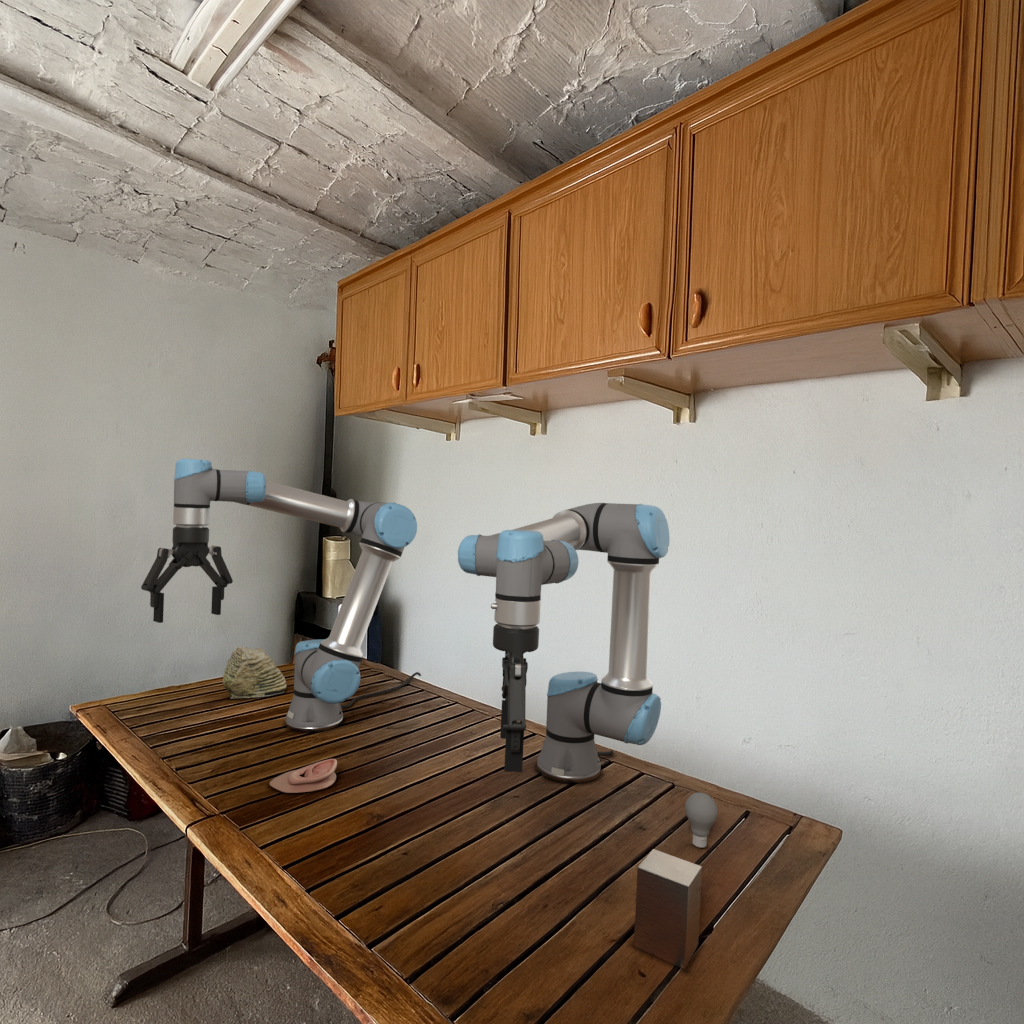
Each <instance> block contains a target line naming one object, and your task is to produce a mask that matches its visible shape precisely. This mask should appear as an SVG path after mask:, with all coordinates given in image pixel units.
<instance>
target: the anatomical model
mask: <svg viewBox="0 0 1024 1024" xmlns="http://www.w3.org/2000/svg"><path fill="white" fill-rule="evenodd" d="M337 766H338V760H337V759H336V758H329V759H324V760H321V761H318V762H315V763H314V762H313V763H312V764H309V765H306V766H303V767H301V768H298V769H294V770H289V771H287V772H284V773H282V774H279V775H277V776H276V777H274V778H273V779H271V780H270V781H269V786H270V787H272V788H273V789H275V790H277V791H279V792H282V793H286V794H294V793H295V794H296V793H297V794H299V793H306V792H307V793H308V792H315V791H319V790H320V791H321V790H323V789H326V788H328V787H330V786H332V785H333V784H334V783H335V782H336V780H337V773H335V771H336V769H337V768H338V767H337Z"/></svg>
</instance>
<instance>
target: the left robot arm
mask: <svg viewBox="0 0 1024 1024" xmlns="http://www.w3.org/2000/svg"><path fill="white" fill-rule="evenodd" d="M211 502H228V503H237V504H240V505H244V506H245V505H246V506H250V507H254V508H258V509H262V510H267V511H269V512H275V513H279V514H283V515H285V516H286V515H287V516H291V517H295V518H300V519H303V520H307V521H312V522H316V523H319V524H324V525H328V526H333V527H335V528H336V527H337V528H339V529H340V531H341V532H343V533H346V534H349V535H353V536H355V537H358V538H360V540H359V543H358V544H359V546H360V549H361V553H360V556H359V559H358V562H357V564H356V567H355V569H354V572H353V574H352V577H351V579H350V582H349V585H348V587H347V590H346V593H345V594H344V597H343V600H342V603H341V605H340V607H339V610H338V613H337V615H336V618H335V621H334V623H333V625H332V628H331V631H330V632H329V633H330V634H329V636H328V637H327V638H324V639H307V640H302V641H299V642H297V644H295V650H294V655H293V656H294V672H293V673H294V674H293V695H292V696H293V697H292V699H291V702H290V704H289V708H288V711H287V713H286V715H285V726H286V728H287V729H289V730H291V731H294V732H295V731H296V732H301V733H316V732H325V731H329V730H332V729H335V728H337V727H339V726H340V725H342V723H343V722H344V714H343V709H347V708H349V707H351V706H352V705H353V703H354V702H356V701H358V700H360V699H365V698H370V697H374V696H378V695H383V694H386V693H390V692H393V691H395V690H398V689H401V688H403V687H404V686H406V685H407V684H408V683H409V682H410V680H412V679H413V678H414V677H416V676H417V675H418V676H419V677H421V676H422V674H421V673H420V672H419V671H416V672H414V673H413V674H411V675H410V676H409V677H408V678H407V679H406V680H405V681H404V682H403V683H400V684H399V685H396V686H394V687H391V688H388V689H384V690H380V691H376V692H371V693H366V694H362V695H359V696H356V697H354V698H352V697H353V696H354V695H356V693H357V691H358V690H359V687H360V684H361V672H360V670H359V668H360V667H361V663H362V661H363V658H364V653H363V651H362V649H361V647H362V644H363V642H364V640H365V636H366V633H367V631H368V628H369V626H370V623H371V621H372V618H373V616H374V612H375V610H376V607H377V605H378V602H379V599H380V596H381V595H382V592H383V589H384V587H385V583H386V581H387V578H388V577H389V574H390V570H391V569H392V566H393V563H394V562H396V561H398V560H400V559H401V558H402V556H403V553H404V550H405V548H406V547H408V546H409V545H410V544H411V543H412V542H413V541H414V540H415V538H416V536H417V532H418V521H417V518H416V516H415V513H414V512H413V511H412V510H411V509H410V508H408V507H407V506H405V505H403V504H400V503H397V502H381V501H363V500H357V499H353V498H350V499H348V500H343V499H339V498H336V497H332V496H328V495H324V494H319V493H316V492H312V491H309V490H304V489H301V488H297V487H294V486H289V485H285V484H282V483H279V482H278V483H277V482H273V481H270V480H267V479H266V476H265V474H264V473H263V472H260V471H253V470H233V469H216V468H213V466H212V462H211V460H208V459H207V460H206V459H196V458H195V459H194V458H180V459H178V460H177V461H176V462H175V468H174V477H173V513H172V514H173V515H172V516H173V517H172V520H173V521H172V523H173V525H175V526H173V528H172V539H171V540H172V541H171V542H172V548H166V547H159V548H158V549H157V553H156V557H155V560H154V562H153V564H152V566H151V567H150V569H149V571H148V573H147V575H146V576H145V579H144V580H143V583H142V584H141V586H140V589H141V590H142V591H145V592H148V593H149V594H150V595H149V596H150V598H149V600H150V601H149V606H150V607H151V608H152V609H153V618H152V619H153V620H152V621H153V622H155V623H159V624H161V623H164V608H165V607H164V605H165V592H162V590H163V589H164V588H165V587H166V586H167V584H168V583H169V582H170V581H171V580H172V578H173V577H174V576H175V575H176V574H177V572H178V571H180V570H181V569H182V568H190V567H200V568H201V569H202V571H204V573H205V574H206V575H207V576H208V578H209V579H210V581H212V582H213V584H214V585H213V586H211V610H210V611H211V612H210V614H212V615H215V616H220V615H221V614H222V601H224V600H225V588H227V587H228V586H229V584H232V583H233V582H234V579H233V578H232V575H231V573H230V571H229V569H228V567H227V564H226V562H225V559H224V558H223V556H222V548H221V546H218V545H211V546H209V542H210V528H209V527H208V526H209V525H210V522H211V521H210V520H211V519H210V518H211V517H210V516H211ZM208 556H211V559H212V561H213V563H214V565H215V568H216V569H215V568H214V567H213V566H212V565H211V562H210V561H209V560H208V558H207V557H208ZM171 557H172V560H171V561H170V562H169V563H168V566H167V567H166V568H165V565H166V564H167V562H168V559H169V558H171ZM164 568H165V569H164ZM163 569H164V571H163ZM216 570H217V571H216ZM162 571H163V572H162ZM351 698H352V699H351ZM349 699H351V700H350V701H349V703H347V704H341V703H344V702H346V701H348V700H349Z"/></svg>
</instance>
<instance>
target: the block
mask: <svg viewBox="0 0 1024 1024" xmlns="http://www.w3.org/2000/svg"><path fill="white" fill-rule="evenodd" d="M636 871H637V872H636V874H637V875H636V890H635V891H636V893H635V912H634V913H635V914H634V915H635V916H634V932H633V933H634V934H633V935H634V936H633V947H634V948H637V949H639V950H641V951H643V952H645V953H647V954H649V955H652V956H653V957H657V958H658V959H660V960H663V961H665V962H667V963H670V964H672V965H674V966H676V967H678V968H680V969H683V970H686V968H687V966H688V965H689V962H690V960H692V957H693V955H694V954H695V952H696V950H697V948H698V947H699V940H700V939H699V938H700V937H699V936H700V920H701V919H700V917H701V898H702V879H703V878H702V877H703V866H702V865H699V864H696V863H694V862H691V861H688V860H685V859H682V858H679V857H677V856H674V855H671V854H668V853H666V852H663V851H661V850H658V849H654V848H652V849H651V851H650V852H649V853H648V854H647V855H646V856H645V858H644V859H643V860H642V861H641V863H640V864H638V865H637V870H636Z"/></svg>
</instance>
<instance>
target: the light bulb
mask: <svg viewBox="0 0 1024 1024" xmlns="http://www.w3.org/2000/svg"><path fill="white" fill-rule="evenodd" d="M685 801H686V802H685V804H684V811H685V815H686V817H687V820H688V821H689V824H690V828H691V832H692V845H694V846H695V847H696V848H700V849H702V848H706V847H707V842H708V836H709V835H710V830H711V828H712V826H713V825H714V824H715V822H716V821H717V818H718V814H719V809H718V805H717V803H716V801H715V799H713V797H712V796H710V795H709V794H707V793H705V792H694V793H693V794H691V795H689V796H688V798H687V799H686V800H685Z"/></svg>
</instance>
